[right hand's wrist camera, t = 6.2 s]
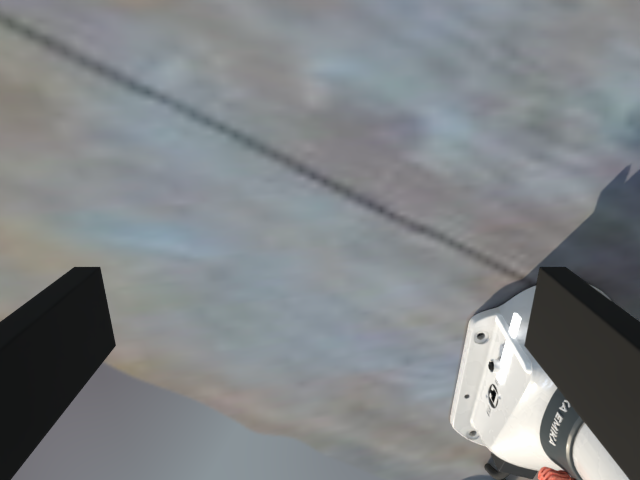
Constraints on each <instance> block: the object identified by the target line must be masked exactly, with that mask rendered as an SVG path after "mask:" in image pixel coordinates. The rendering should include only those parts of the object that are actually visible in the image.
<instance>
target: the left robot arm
mask: <svg viewBox="0 0 640 480" xmlns="http://www.w3.org/2000/svg"><path fill="white" fill-rule="evenodd" d="M590 286H592V285H590ZM592 287H593V288H594V289H596V290H597V291H599V292H600V293H601V294H603V295H604V296H605V297H607V298H608V299H609V300H611V299H610V298H609V297H608V296H607V295H606V294H605V293H603V292H602V291H601V290H599V289H598V288H596V287H594V286H592ZM535 289H536V286H533V287H531V288H528V289H526V290H524V291H522V292H521V293H519V294H517V295H516V296H514V297H513V298H512V299H510V300H509V301H507V302H506V303H504V304H503V305H501V306H499V307H497V308H493V309H489V310H486V311H483V312H480V313H478V314H476V315H474V316H473V317H472V318H471V319H470V321H469V324H468V329H467V334H466V340H465V345H464V350H463V355H462V360H461V365H460V370H459V375H458V380H457V385H456V390H455V395H454V400H453V405H452V410H451V416H450V423H451V425H452V426H453V428H454V429H455V430H456V431H457V432H458V433H459V434H460V435H462V436H463V437H465V438H466V439H468V440H470V441H472V442H475V443H477V444H480V445H483V446H486V447H487V448H488V449H489V450H490V451H491V452H492V453H491V455H492V458H493V460H494V462H495V464H496V466H497V468H498V471H499V472H497V471H496V470H495V469H494V468H492V466H491V465H489V464H486V465H485V470H486V471H487V472H488V473H489V474H490V475H491V476H492V477H493V478H495V479H497V480H506V479H505V477H507V476H508V475H509V474H512V475H516V476H521V477H525V478H530V479H533V478H534V476H535V475H536V473H537V472H538V471H539V474H538V478H539V480H629V479H628V477H627V476H626V475H625V473H624V472H623V471H622V470H621V468H620V467H619V466H618V465H617V463H616V462H615V461H614V459H613V458H612V457H611V456H610V454H609V453H608V452H607V451H606V449H605V448H604V447H603V445H602V444H601V443H600V442H599V440H598V439H597V438H596V436H595V435H594V434H593V433H592V431H591V430H590V429H589V428H588V426H587V425H586V424H585V422H584V421H583V420H582V419H581V417H580V416H579V415H578V414H577V412H576V411H575V410H574V408H573V407H572V406H571V405H570V403H569V402H568V401H567V399H566V398H565V397H564V396H563V394H562V393H561V392H560V391H559V389H558V388H557V387H556V385H555V384H554V383H553V382H552V380H551V379H550V378H549V377H548V375H547V374H546V373H545V371H544V370H543V369H542V368H541V366H540V365H539V364H538V363H537V361H536V360H535V359H534V357H533V356H532V355H531V354H530V352H529V351H528V350H527V348H526V347H525V346H524V344H525V339H526V334H527V329H528V324H529V319H530V314H531V309H532V304H533V299H534V294H535ZM479 333H482V335H480V336H477V335H478V334H479ZM569 475H571V477H570V476H569Z"/></svg>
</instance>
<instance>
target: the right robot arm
mask: <svg viewBox="0 0 640 480" xmlns="http://www.w3.org/2000/svg"><path fill="white" fill-rule="evenodd" d="M115 346H116V344H115V339H114V334H113V329H112V324H111V319H110V314H109V309H108V304H107V299H106V294H105V289H104V284H103V279H102V274H101V269H100V267H74V268H73V269H71V270H70V271H68V272H67V273H66V274H64V275H63V276H62V277H60V278H59V279H58V280H56V281H55V282H54V283H52V284H51V285H50V286H48V287H47V288H46V289H44V290H43V291H41V292H40V293H39V294H37V295H36V296H35V297H33V298H32V299H31V300H29V301H28V302H27V303H25V304H24V305H23V306H21V307H20V308H19V309H17V310H16V311H15V312H13V313H12V314H10V315H9V316H8V317H6V318H5V319H4V320H2V321H1V322H0V480H11V479H12V477H13V476H14V475H15V473H16V472H17V471H18V470H19V468H20V467H21V466H22V465H23V463H24V462H25V461H26V459H27V458H28V457H29V456H30V454H31V453H32V452H33V451H34V449H35V448H36V447H37V445H38V444H39V443H40V442H41V440H42V439H43V438H44V436H45V435H46V434H47V433H48V431H49V430H50V429H51V428H52V426H53V425H54V424H55V422H56V421H57V420H58V419H59V417H60V416H61V415H62V414H63V412H64V411H65V410H66V408H67V407H68V406H69V405H70V403H71V402H72V401H73V399H74V398H75V397H76V396H77V394H78V393H79V392H80V391H81V389H82V388H83V387H84V385H85V384H86V383H87V382H88V380H89V379H90V378H91V376H92V375H93V374H94V373H95V371H96V370H97V369H98V368H99V366H100V365H101V364H102V363H103V361H104V360H105V359H106V357H107V356H108V355H109V354H110V352H111V351H112V350H113V348H114V347H115ZM524 346H525V347H526V348H527V350H528V351H529V352H530V354H531V355H532V356H533V357H534V359H535V360H536V361H537V363H538V364H539V365H540V366H541V368H542V369H543V370H544V371H545V373H546V374H547V375H548V377H549V378H550V379H551V380H552V382H553V383H554V384H555V385H556V387H557V388H558V389H559V391H560V392H561V393H562V394H563V396H564V397H565V398H566V399H567V401H568V402H569V403H570V405H571V406H572V407H573V408H574V410H575V411H576V412H577V414H578V415H579V416H580V417H581V419H582V420H583V421H584V422H585V424H586V425H587V426H588V428H589V429H590V430H591V431H592V433H593V434H594V435H595V436H596V438H597V439H598V440H599V442H600V443H601V444H602V445H603V447H604V448H605V449H606V451H607V452H608V453H609V454H610V456H611V457H612V458H613V459H614V461H615V462H616V463H617V465H618V466H619V467H620V468H621V470H622V471H623V472H624V473H625V475H626V476H627V477H628V479H629V480H640V322H639V321H638V320H636V319H635V318H634V317H632V316H631V315H630V314H628V313H627V312H625V311H624V310H623V309H621V308H620V307H619V306H617V305H616V304H615V303H613V302H612V301H611V300H609V299H608V298H607V297H605V296H604V295H603V294H601V293H600V292H599V291H597V290H596V289H594V288H593V287H592V286H590V285H589V284H588V283H586V282H585V281H584V280H582V279H581V278H580V277H578V276H577V275H576V274H574V273H573V272H572V271H570V270H569V269H567V268H566V267H540V269H539V274H538V279H537V284H536V289H535V294H534V299H533V304H532V309H531V314H530V319H529V324H528V329H527V334H526V339H525V344H524Z"/></svg>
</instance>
